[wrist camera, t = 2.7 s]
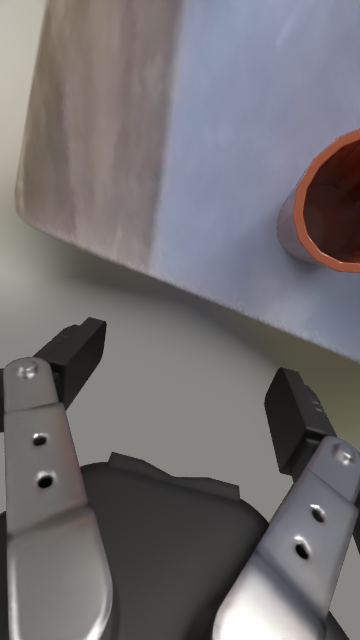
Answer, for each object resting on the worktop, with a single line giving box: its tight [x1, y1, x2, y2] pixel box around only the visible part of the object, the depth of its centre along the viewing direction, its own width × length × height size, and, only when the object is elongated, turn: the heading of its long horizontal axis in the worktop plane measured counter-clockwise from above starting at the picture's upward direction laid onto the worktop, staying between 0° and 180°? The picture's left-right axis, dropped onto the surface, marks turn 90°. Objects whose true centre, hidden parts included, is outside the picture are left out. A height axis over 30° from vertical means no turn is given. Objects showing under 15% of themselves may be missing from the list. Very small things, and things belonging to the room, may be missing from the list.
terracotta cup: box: [277, 128, 360, 273], centre depth 18 cm, size 6×6×11 cm
